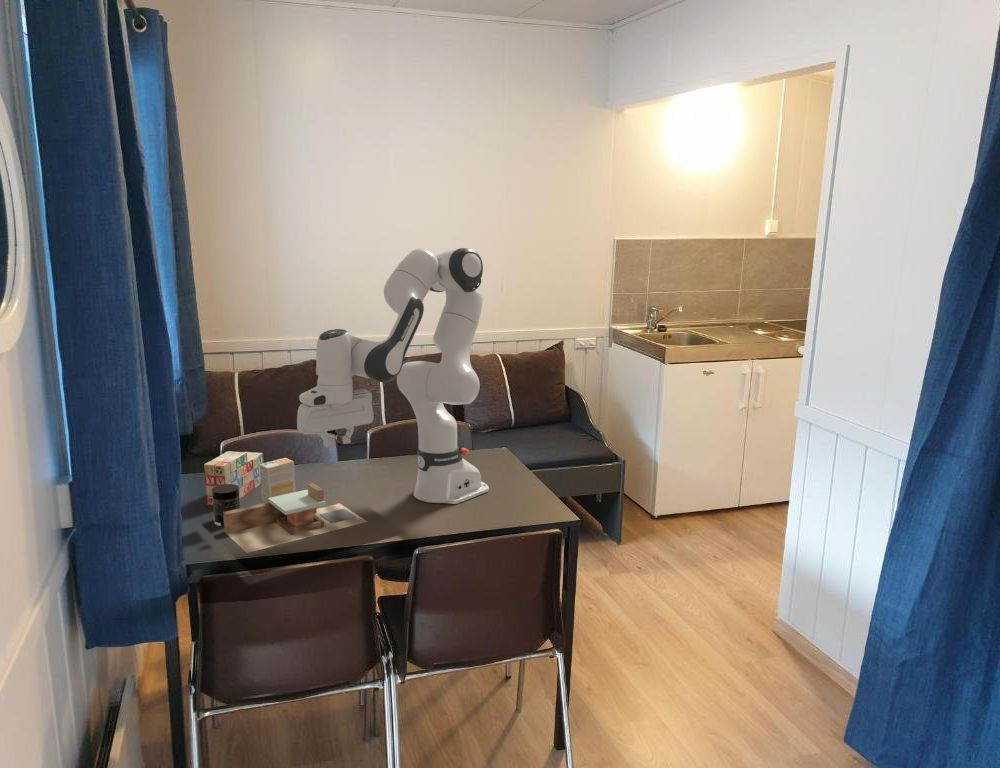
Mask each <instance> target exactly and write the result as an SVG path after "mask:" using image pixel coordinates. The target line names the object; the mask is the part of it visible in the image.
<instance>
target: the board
mask: <svg viewBox="0 0 1000 768" xmlns="http://www.w3.org/2000/svg"><path fill="white" fill-rule="evenodd" d="M223 517H224V526H223V528H224V530H223V532H224V533H225V534H226V535H227V536H228V537H229V538H230V539H231V540H232V541H234V542H235V543H236V544H237V545H238V546H239V547H240V548H241V549H242V550H243V551H244V552H245V553H246V554H250V553H253V552H257V551H261V550H264V549H267V548H268V549H269V548H272V547H275V546H279V545H283V544H284V545H285V544H288V543H290V542H295V541H299V540H303V539H307V538H310V537H314V536H318V535H322V534H326V533H329V532H334V531H338V530H341V529H345V528H349V527H353V526H354V527H355V526H357V525H360V524H365V523H368V521H367V520H365V518H363V517H361V516H360V515H358V514H357V513H355V512H354V511H352V510H350V509H349V508H347V507H346V506H344V505H343V504H341V503H336V504H332V505H331V504H330V505H326V506H322V507H317V508H313V518H314V522H313V523H309V524H305V525H301V526H297V527H292V526H290V525H289V524H288V523H287V515H285V514H284V513H282V512H281V511H280V510H278V509H277V508H276V507H274V506H273V505H272V504H271V503H269V502H267V503H262V502H261V503H258V504H253V505H250V506H245V507H240V509H235V510H231V511H226V512H223Z"/></svg>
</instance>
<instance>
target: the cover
mask: <svg viewBox="0 0 1000 768" xmlns="http://www.w3.org/2000/svg"><path fill="white" fill-rule="evenodd" d="M324 499H325V498H324V489H323V488H322V487H320V486H319V485H317V484H315V483H314V482H311V483H307V489H304V490H303V489H302V490H299V491H296V492H294V493H289V494H285V495H280V496H276V497H271V498H268V502H269V503H271V504H272V505H273V506H274V507H276V508H277V509H278V510H280V511H281V512H282V513H284V514H285V515H287V514H291V513H296V512H300V511H304V510H308V509H313V508H316V509H318V508H322V507H326V506H327V501H326V499H325V500H324Z"/></svg>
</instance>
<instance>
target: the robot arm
mask: <svg viewBox="0 0 1000 768" xmlns="http://www.w3.org/2000/svg"><path fill="white" fill-rule="evenodd" d="M480 255H481V254H479V253H478V251H476V250H474V249H472V248H467V247H461V248H456V249H452V250H446V251H444V252H441V253H440V254H437V255H436V254H435V255H434V253H432V252H431V251H429V250H428V249H425V248H415V249H413V250H411V251H410V252H409V253H408V254H406V256H404V258H403V259H402V260H401V261H400V262H399V263H398V265H397V266H396V267H395V269H394V270H393V272H392V273H391V274H390V275H389V277H388V279H387V280H386V283H385V284H384V287H383V295H384V299H385V301H386V304H387V305H388V307H390V308H391V310H392V311H393V312H394V313H396V314H397V318H396V321H394V322H395V323H394V324H393V326H392V329H391V331H390V332H389V335H388V337H387V338H386V339H384V340H382V341H373V340H368V339H362V338H359V337H356V336H355V335H352V334H351V333H349V332H348V330H346V329H344V328H335V329H329V330H325V331H324V332H321V334H319V336H318V339H317V341H316V351H315V352H316V357H315V358H316V359H315V361H316V368H317V371H318V376H317V377H318V378H317V381H316V382H317V383H316V386H314V387H312V388H310V389H309V390H308V389H307V391H305V392H302V393H301V394H299V396H298V398H299V402H301V403H300V405H299V406H298V409H297V415H296V427H297V430H298V432H299V433H300V434H303V435H305V436H307V435H312V434H318V435H319V436H320V438H321V439H322V440H323V447H324V448H325V449H326V448H330V447H332V445H333V443H332V440H331V439H330V438H328V437H327V435H328V432H329V431H334V430H340V429H346V433H345V435H343V436H341V439H342V441H341V442H342V444H344V445H347V444H351V437H352V436H353V433H354V431H355V427H358V426H364V425H370V424H372V423H373V421H374V411H373V410H374V409H373V408H374V407H373V404H372V402H373V394H372V392H371V391H370V390H368V389H365V388H362V389H355V390H354V389H353V388H354V387H353V376H358V377H361V378H366V379H370V380H374V381H376V382H379V383H384V384H385V383H389V382H391V381H393V380H395V378H396V385H397V388H398V390H399V391H400V393H402V394H403V395H404V397H405V398H406V399H407V401H408V402H409V404H410V405H411V407H412V410H413V413H414V414H415V418H416V422H417V433H418V435H417V436H418V447H417V448H416V449H417V451H416V452H417V454H416V456H417V457H416V460H417V461H416V462H417V478H416V483H415V487H414V492H413V496H414V498H415V499H416V500H419V501H421V502H425V503H433V504H434V503H436V504H441V503H442V504H451V505H458V504H460V503H462V502H464V501H467V500H469V499H473V498H475V497H477V496H479V495H482V494H486V493H488V492H489V491H490V488H489V485H488V484H487V483H486V482H484V481H482V476H481V473H480V470H479V469H478V468H477V467H476V466H475V465H473V464H471V463H470V462H468V461H467V460H466V459H464V458H463V456H468V455H469V453H470V450H469V449H468V448H466V447H462V448H461V446H458V424H457V421H456V419H455V417H454V416H453V415H452V414H450V413H449V412H448V410H447V409H446V407H445V405H444V404H447V405H453V406H455V405H458V406H459V405H460V406H461V405H470V404H472V402H474V401H475V400H476V398H477V397H478V395H479V392H480V386H481V385H480V378H479V377H478V375H477V372H476V371H475V370H474V368H473V367H472V366H473V365H472V363H471V349H472V345H473V341H474V339H475V336H476V335H475V334H476V332H477V330H478V329H477V328H478V325H479V322H480V318H481V315H482V309H483V296H482V293H481V292H480V291H479V290H478V289H479V287H480V286H481V284H482V277H483V273H484V267H483V266H484V264H483V261H482V256H480ZM429 292H435V293H443V292H445V304H444V307H443V309H442V311H441V314H440V317H439V320H438V322H437V325H436V328H435V332H434V334H433V343H434V346H435V347H436V349H437V350H439V352H440V353H441V360H440V362H432V361H426V360H425V361H424V360H417V361H416V360H415V361H414V360H413V361H409V362H405V363H404V360H405V358H406V355H407V351H408V350H409V347H410V345H411V343H412V341H413V339H414V336H415V335H416V332H417V330H418V327H419V325H420V323H421V321H422V318H423V315H424V312H425V311H424V310H425V308H424V300H425V298H426V296H427V294H428V293H429Z"/></svg>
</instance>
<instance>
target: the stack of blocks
mask: <svg viewBox="0 0 1000 768" xmlns="http://www.w3.org/2000/svg"><path fill="white" fill-rule="evenodd" d="M262 463H264V453H263V452H254V451H253V452H250V451H242V452H241V451H230V450H228V451H225V452H224V453H222V454H220V455H219V456H217V457H215V458H213V459H212V460H210V461H208V462H206V463H204V464H203V467H204V481H205V493H206V505H207V506H212V507H213V502H212V488H214V487H216V486H218V485H223V484H234V485H238V486H239V498H240V499H242V498H243V497H244V496H246V495H247V494H249V493H250V492H251V490H252V491H254V490H255V489H256V488H258V487H259V486H261V485H260V484H261V481H260V467H259V464H262ZM245 494H246V495H245ZM241 497H242V498H241Z"/></svg>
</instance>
